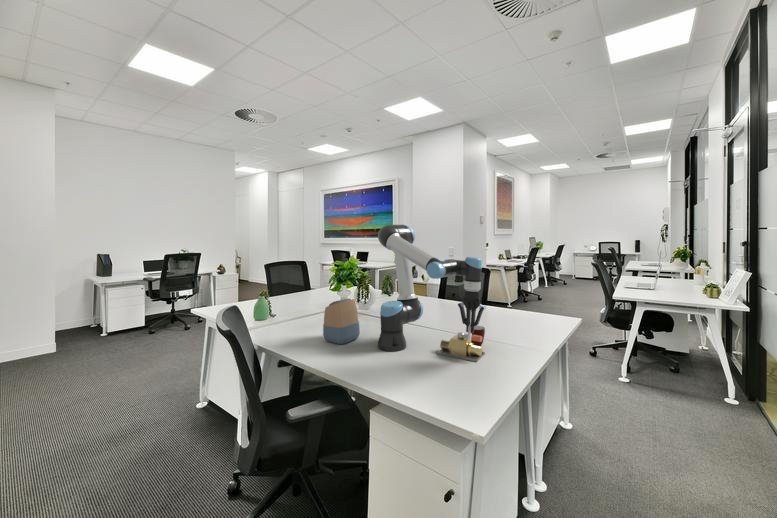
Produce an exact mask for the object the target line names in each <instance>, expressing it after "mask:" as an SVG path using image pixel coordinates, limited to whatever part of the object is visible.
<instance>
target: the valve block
mask: <svg viewBox="0 0 777 518" xmlns="http://www.w3.org/2000/svg"><path fill="white" fill-rule="evenodd" d="M439 346H440V347H439V348H440V349H439V350H438V351H437V352H436V354H437V355H439V356H445V357H451V358H456V359H461V360H465V361H471V362H475V363H478V362H479V361H480V359H482V358H483V357H484V355H486V352H485V351H483V346H482V345H481V346H475V345H474V344H473V343H471V340H468V339H466V338H464V339H458V334H456V335H454V336H452V337H451V338H450V339H449V340H445V339H442V340H441V341H440V345H439Z"/></svg>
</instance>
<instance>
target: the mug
mask: <svg viewBox="0 0 777 518" xmlns="http://www.w3.org/2000/svg"><path fill="white" fill-rule="evenodd" d="M485 334H486V328H485V327H484V326H482V325H477V326H474V333H472V335H479V336H482V341H481V342H478V341H472V340H471V343H473V344H474V345H475V346H481V347H482V345H483V343H484V339H485Z"/></svg>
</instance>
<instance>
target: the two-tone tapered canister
mask: <svg viewBox="0 0 777 518" xmlns="http://www.w3.org/2000/svg"><path fill="white" fill-rule="evenodd" d="M322 326H323V327H322V330H323V331H322V335H323V339H324V340H325V341H327V342H329V343H332V342H333V344H336V343H337V345H345V344H347V343H350V342H352V341H355V340H357V339H358V337H360V333H361V332H360V331H361V330H360V321H359V315H358V307H357V303H356V299H355V298H352V299H351V298H343V299H340V300H336V301H332V302H330V303H329V305H327V306H326V307H325V308H324V315H323V325H322Z"/></svg>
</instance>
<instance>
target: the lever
mask: <svg viewBox="0 0 777 518" xmlns="http://www.w3.org/2000/svg"><path fill="white" fill-rule="evenodd" d="M457 335H458V339H464V338H466V339H468V333H465V332H457ZM471 340H472V341H478V342H481V341H482V336H479V335H472V339H471Z"/></svg>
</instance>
